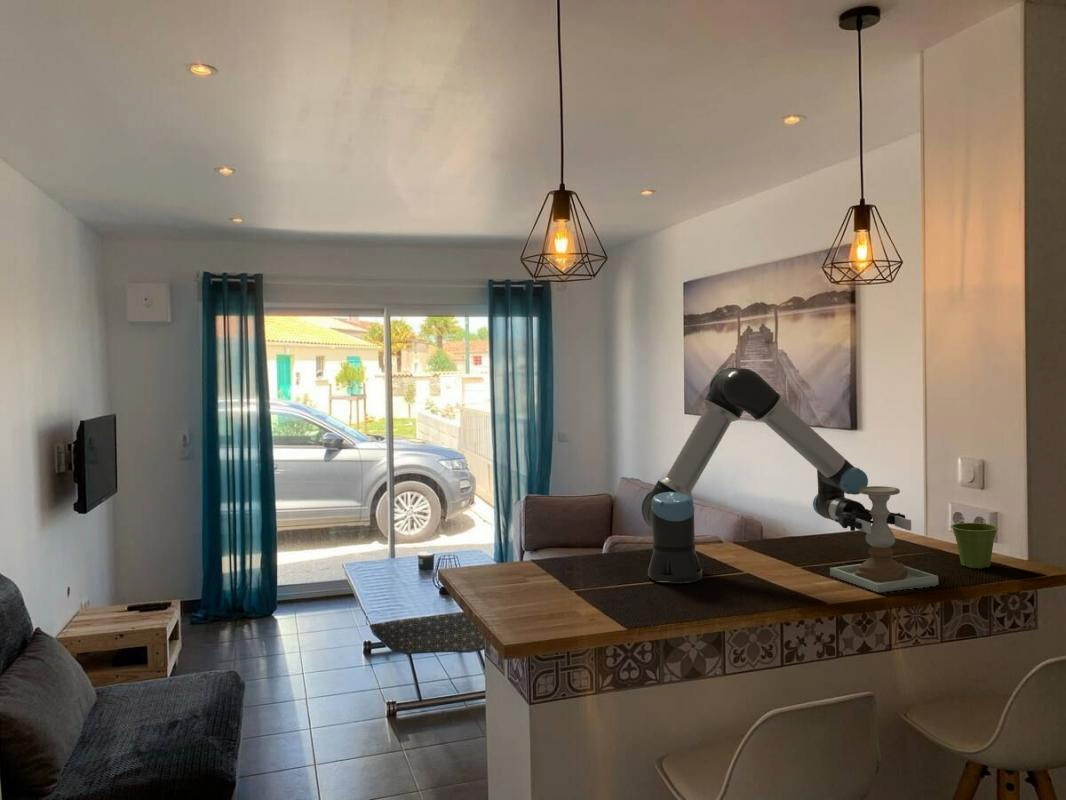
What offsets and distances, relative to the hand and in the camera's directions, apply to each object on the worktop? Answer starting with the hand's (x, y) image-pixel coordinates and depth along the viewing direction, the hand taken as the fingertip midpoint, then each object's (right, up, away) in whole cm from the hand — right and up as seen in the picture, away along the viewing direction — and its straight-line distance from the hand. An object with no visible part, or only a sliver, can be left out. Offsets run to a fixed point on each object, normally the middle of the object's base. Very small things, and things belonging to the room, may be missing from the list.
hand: (889, 526), depth 218 cm
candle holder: (0, -14, +5) cm, 15 cm away
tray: (0, -15, +5) cm, 16 cm away
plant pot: (+31, -14, +16) cm, 38 cm away
